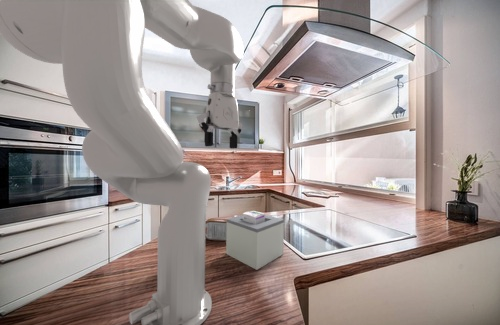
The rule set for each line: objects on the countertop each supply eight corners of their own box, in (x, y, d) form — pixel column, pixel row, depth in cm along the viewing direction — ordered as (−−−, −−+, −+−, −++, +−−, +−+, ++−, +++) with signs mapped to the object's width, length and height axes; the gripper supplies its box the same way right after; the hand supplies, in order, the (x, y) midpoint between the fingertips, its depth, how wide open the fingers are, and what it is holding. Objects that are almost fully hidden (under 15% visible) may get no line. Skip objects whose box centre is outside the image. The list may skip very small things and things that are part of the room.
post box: (256, 269, 57) (257, 229, 57) (226, 253, 67) (226, 219, 67) (283, 254, 68) (283, 219, 68) (253, 242, 77) (254, 211, 77)
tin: (239, 239, 80) (239, 219, 80) (238, 242, 77) (238, 221, 77) (203, 237, 81) (203, 217, 81) (200, 240, 78) (201, 219, 78)
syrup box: (265, 254, 67) (265, 212, 67) (254, 261, 62) (254, 216, 62) (252, 249, 71) (253, 209, 71) (241, 255, 66) (241, 212, 66)
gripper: (205, 81, 52) (204, 144, 52) (250, 97, 65) (249, 148, 65) (191, 87, 57) (190, 145, 58) (235, 101, 70) (234, 149, 70)
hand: (221, 147), depth 61 cm, fingers open, 9 cm apart
